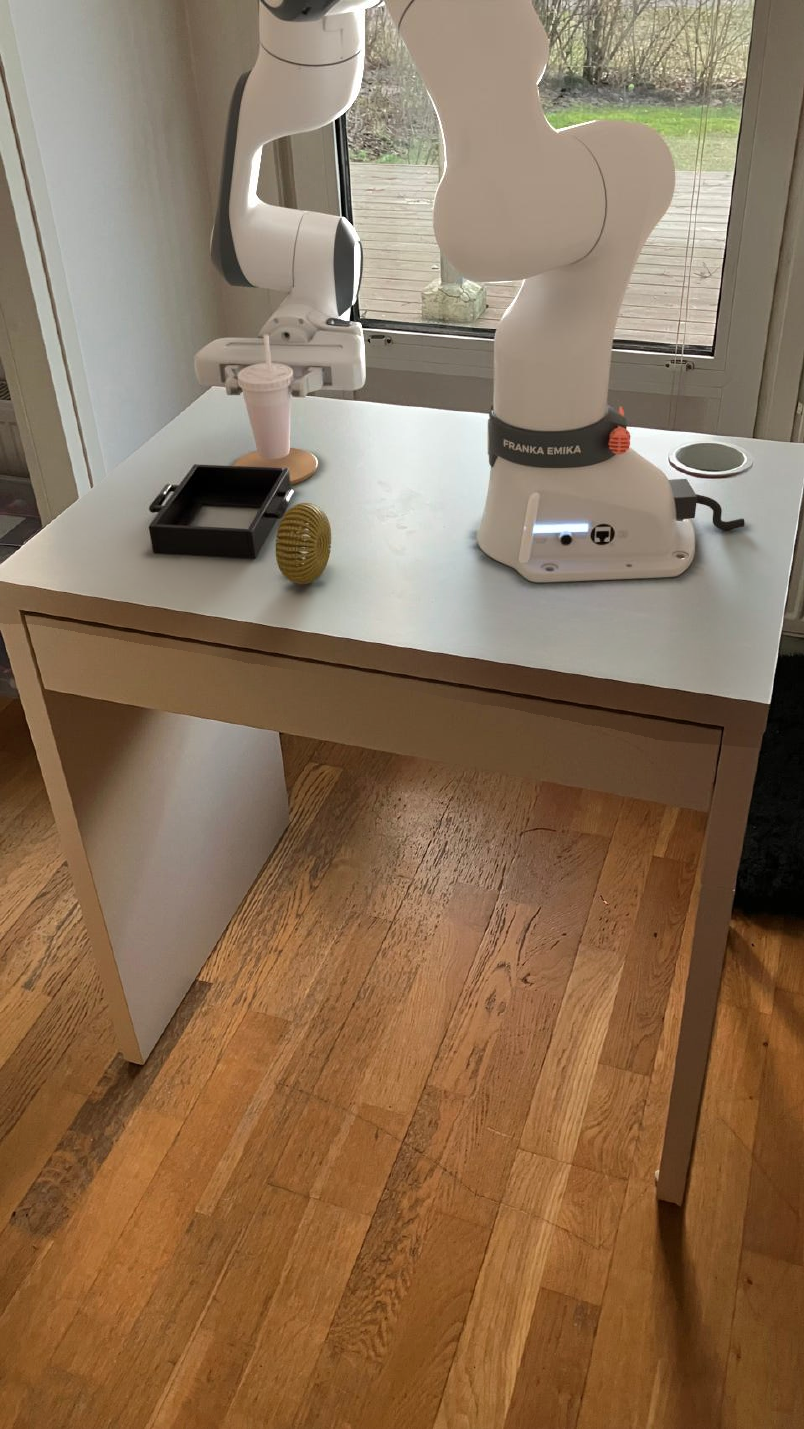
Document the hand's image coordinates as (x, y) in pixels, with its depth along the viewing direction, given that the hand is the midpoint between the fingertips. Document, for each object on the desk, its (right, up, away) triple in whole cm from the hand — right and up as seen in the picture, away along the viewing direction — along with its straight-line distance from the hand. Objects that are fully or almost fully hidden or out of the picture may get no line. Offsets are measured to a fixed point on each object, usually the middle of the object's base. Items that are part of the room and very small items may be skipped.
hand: (264, 390), depth 134 cm
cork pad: (+1, -8, +7) cm, 10 cm away
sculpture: (+6, -23, -14) cm, 28 cm away
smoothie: (0, -6, +6) cm, 8 cm away
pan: (-4, -16, -4) cm, 17 cm away
